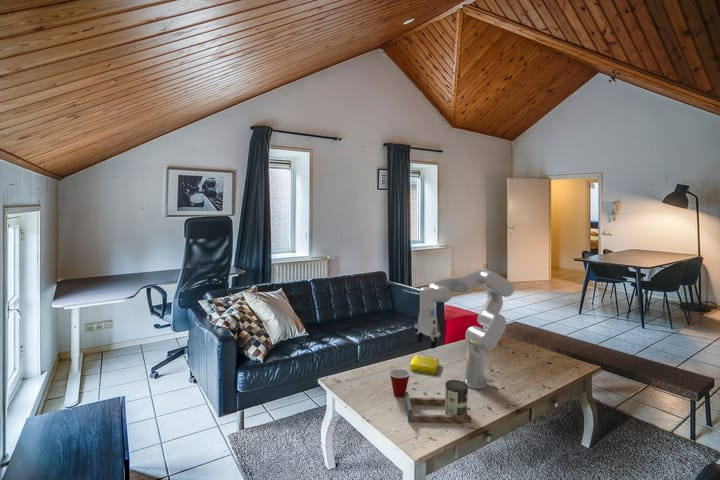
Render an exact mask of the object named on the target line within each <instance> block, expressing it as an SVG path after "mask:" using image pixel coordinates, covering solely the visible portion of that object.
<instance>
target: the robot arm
mask: <svg viewBox="0 0 720 480" xmlns="http://www.w3.org/2000/svg"><path fill="white" fill-rule="evenodd" d="M514 286H515V285H514V283H513V282H511V281H510V280H508V279H507V278H505V277H503V276H501V275H500V274H498V273H496V272H494V271H490V270H487V269H483V268H479V269H476V270H473V271H471V272H469V273H465V274H463V275H461V276H455V277H448V278H443V279H439V280H437V281H434V282H432V283H431V284H429V286H424V287H421V288H420V289H419V313H418V319H417V323H415V324H414V329H415V331H416V335H417V343H422V342H424V338H423V337H424V335H425V336H427V337H428V336H429V337H430V338H431V341H430V342H431V344H430V349H432V350H434V349H436V348H437V341H438V340H439V339H440V336H441V335H442V334H441V332H440V331H439V329H438V319H437V318H438V317H437V316H436V314H437V313H436V303H446V302H449V301H450V300H451V299H452V297H453V296H452V295H453V294H452V292H453V293H454V292H456V293H467V292H470V291H472V290H475V289H477V288H480V287H484V288H485V290H486V292H487V299H486V301H485V303H484V305H483V307H482V308H481V310H480V311H479V314H478V316H477V319H476V320H477V323H478V324H479V326H481V327H483V328H481V327H479V326H478V325H477V326H476V325H471V326H470V327H468V328H467V329H466V331H465V342H466V359H465V361H466V362H465V363H466V364H465V377H463V379H462V382H465V383H466V384H467V385H468V389H473V390H482V389H485V388H486V387H487V385H488V382H489V383H493V382H494V378H493V377H490V376H485V365H486V364H485V363H486V362H485V361H486V352H491V351H492V350H494V348H495V347H496V346H497V344H498V343H499V341H500V339H501V337H502V335H503V334H504V331H505V330H506V327H507V320H506V318H505V316H503V315H502V314H500V312H501V310H502V307H503V305H504V301H503V297H504V298H507V297H511V296H512V295H513V294H514V291H515V287H514ZM484 328H486V329H484Z"/></svg>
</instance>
